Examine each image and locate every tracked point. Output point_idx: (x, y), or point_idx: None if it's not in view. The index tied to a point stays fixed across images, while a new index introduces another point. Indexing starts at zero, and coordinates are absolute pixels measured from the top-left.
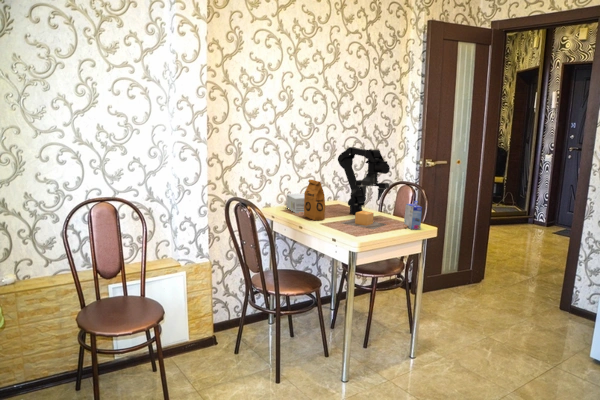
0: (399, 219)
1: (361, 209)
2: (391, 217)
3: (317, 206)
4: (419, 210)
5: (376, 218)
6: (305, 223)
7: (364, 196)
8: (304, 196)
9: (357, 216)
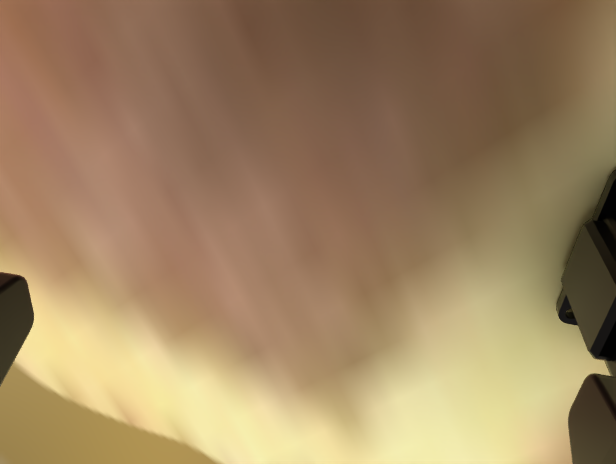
0: (69, 336)
1: (597, 320)
2: (190, 385)
3: None
4: None
5: (312, 248)
6: None
7: (596, 443)
8: None
9: None
